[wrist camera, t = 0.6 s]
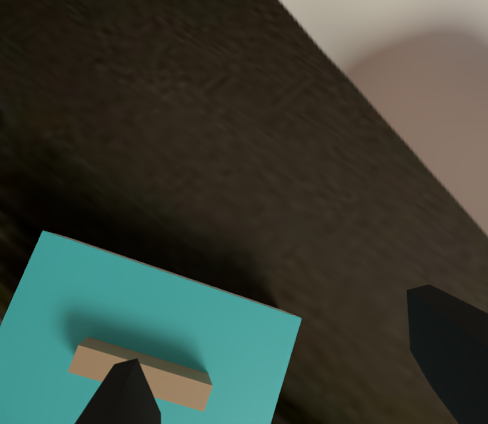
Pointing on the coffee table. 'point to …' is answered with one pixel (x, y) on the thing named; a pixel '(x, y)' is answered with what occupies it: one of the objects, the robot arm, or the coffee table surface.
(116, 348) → the lid
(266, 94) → the coffee table surface
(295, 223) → the coffee table surface
